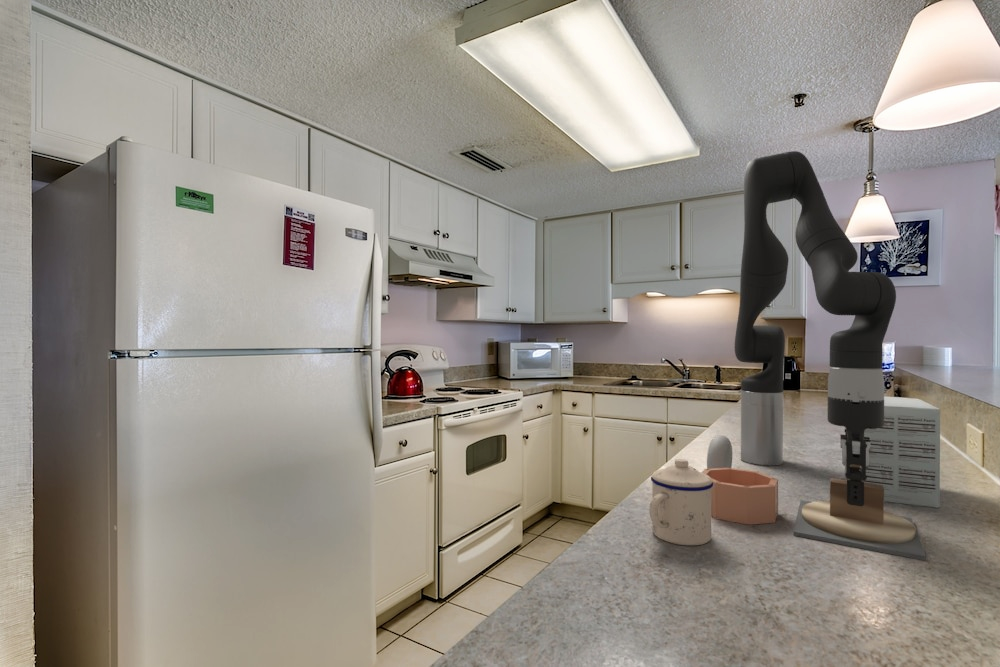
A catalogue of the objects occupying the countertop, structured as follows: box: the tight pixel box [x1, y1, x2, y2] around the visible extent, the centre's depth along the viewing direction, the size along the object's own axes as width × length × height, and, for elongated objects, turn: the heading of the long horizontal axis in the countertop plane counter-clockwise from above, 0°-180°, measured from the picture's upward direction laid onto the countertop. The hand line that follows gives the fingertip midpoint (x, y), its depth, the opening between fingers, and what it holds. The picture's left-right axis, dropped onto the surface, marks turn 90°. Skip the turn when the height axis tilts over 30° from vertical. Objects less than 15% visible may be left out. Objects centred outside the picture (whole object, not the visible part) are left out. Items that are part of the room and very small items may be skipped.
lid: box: [802, 477, 917, 543], centre depth 83 cm, size 15×15×6 cm
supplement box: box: [844, 396, 941, 509], centre depth 103 cm, size 17×13×18 cm
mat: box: [792, 499, 927, 561], centre depth 83 cm, size 18×16×1 cm
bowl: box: [700, 467, 779, 526], centre depth 91 cm, size 12×12×6 cm
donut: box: [706, 434, 733, 469], centre depth 108 cm, size 10×4×10 cm, turn 143°
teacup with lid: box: [649, 458, 713, 546], centre depth 79 cm, size 12×9×12 cm
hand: (854, 498), depth 83 cm, fingers open, 7 cm apart
